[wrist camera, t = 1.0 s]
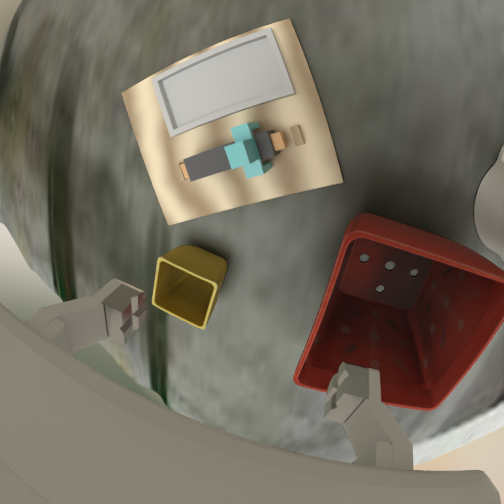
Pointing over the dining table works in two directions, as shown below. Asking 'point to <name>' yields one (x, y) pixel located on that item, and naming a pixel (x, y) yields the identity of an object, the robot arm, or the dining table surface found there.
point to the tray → (223, 82)
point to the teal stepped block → (246, 151)
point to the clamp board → (219, 133)
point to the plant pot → (404, 313)
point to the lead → (218, 159)
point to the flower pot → (188, 283)
